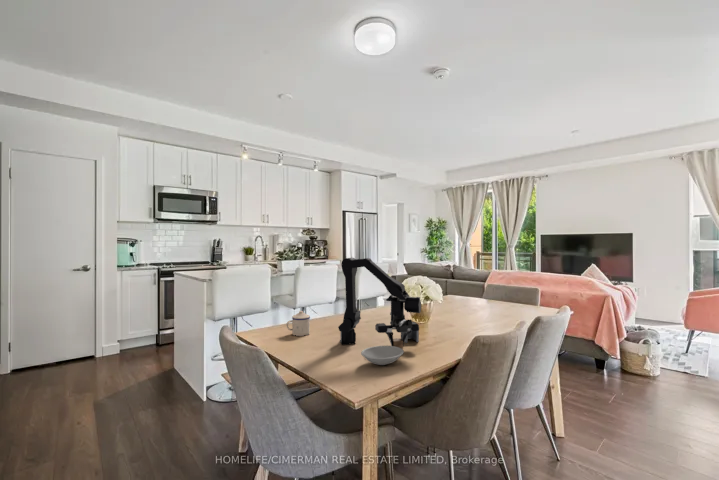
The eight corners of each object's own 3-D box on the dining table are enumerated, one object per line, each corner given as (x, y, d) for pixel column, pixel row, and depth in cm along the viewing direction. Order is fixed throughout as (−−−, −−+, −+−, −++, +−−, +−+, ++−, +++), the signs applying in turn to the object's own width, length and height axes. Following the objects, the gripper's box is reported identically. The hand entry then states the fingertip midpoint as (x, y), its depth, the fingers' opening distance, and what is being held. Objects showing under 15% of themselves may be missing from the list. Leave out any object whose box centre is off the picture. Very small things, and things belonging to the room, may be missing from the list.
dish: (375, 375, 124) (375, 361, 124) (353, 363, 136) (353, 350, 136) (412, 365, 133) (412, 352, 133) (388, 355, 145) (388, 343, 145)
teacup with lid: (307, 330, 182) (307, 308, 182) (312, 335, 174) (312, 312, 174) (284, 333, 178) (284, 310, 178) (288, 338, 169) (288, 314, 169)
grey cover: (405, 342, 162) (405, 328, 162) (400, 338, 169) (400, 325, 169) (418, 341, 164) (418, 328, 164) (413, 337, 170) (413, 324, 170)
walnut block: (394, 350, 151) (394, 341, 151) (391, 347, 155) (391, 338, 155) (402, 349, 152) (402, 340, 152) (399, 347, 156) (400, 338, 156)
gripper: (381, 316, 143) (381, 353, 144) (424, 314, 147) (423, 350, 148) (375, 310, 154) (374, 345, 155) (414, 309, 158) (414, 343, 158)
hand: (397, 346), depth 153 cm, fingers closed on walnut block, 4 cm apart
